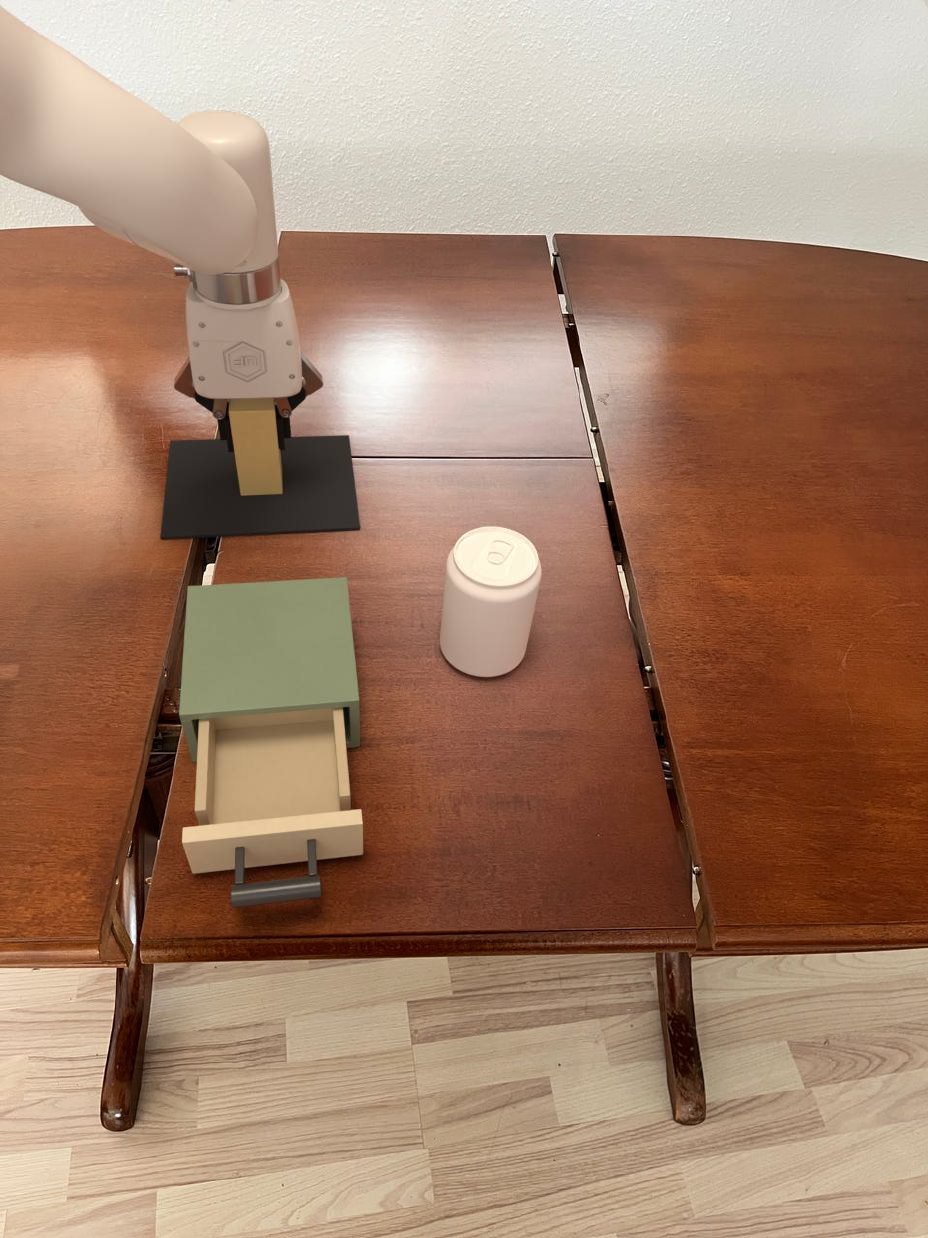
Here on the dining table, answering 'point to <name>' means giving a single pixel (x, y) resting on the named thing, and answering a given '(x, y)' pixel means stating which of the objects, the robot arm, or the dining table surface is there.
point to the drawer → (272, 800)
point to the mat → (215, 507)
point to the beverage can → (489, 601)
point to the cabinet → (268, 652)
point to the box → (256, 446)
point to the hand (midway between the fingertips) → (256, 441)
